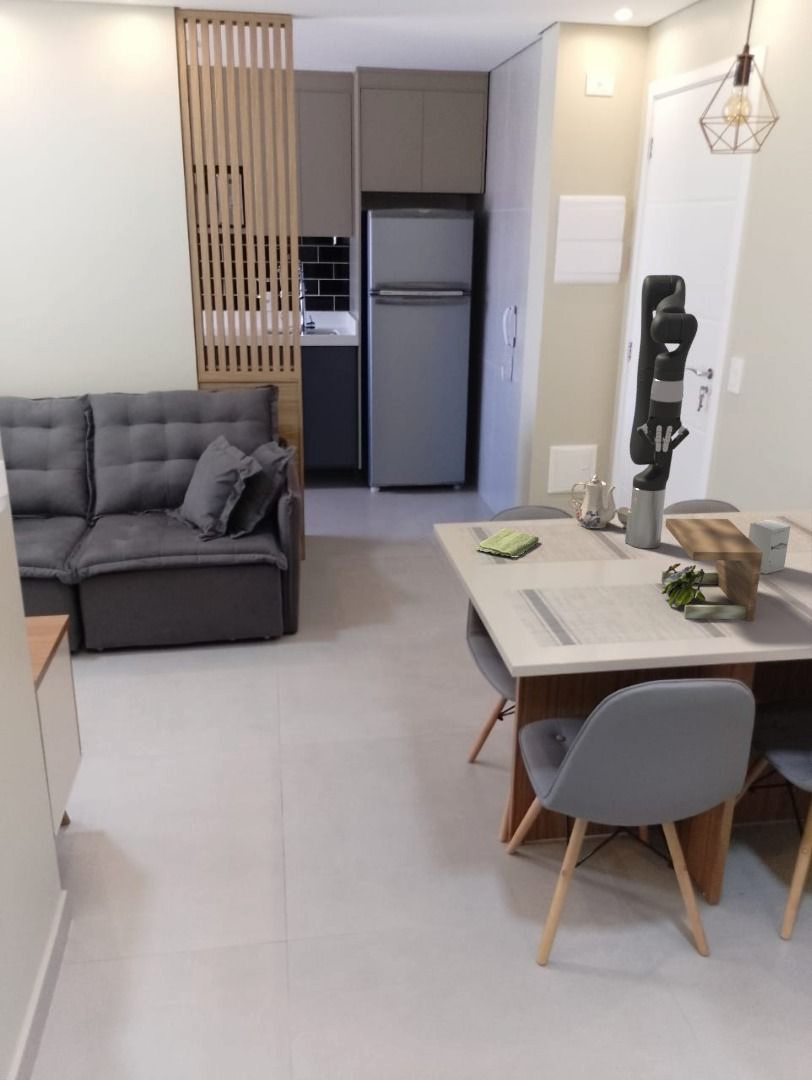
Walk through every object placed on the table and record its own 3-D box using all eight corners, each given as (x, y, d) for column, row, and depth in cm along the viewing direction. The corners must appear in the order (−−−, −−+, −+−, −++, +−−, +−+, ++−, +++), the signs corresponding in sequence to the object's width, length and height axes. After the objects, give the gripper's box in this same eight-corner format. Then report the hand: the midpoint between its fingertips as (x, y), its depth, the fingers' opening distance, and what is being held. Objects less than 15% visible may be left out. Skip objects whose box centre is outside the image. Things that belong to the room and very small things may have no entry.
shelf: (686, 620, 206) (693, 551, 201) (660, 580, 230) (666, 518, 224) (753, 620, 206) (762, 552, 200) (720, 581, 230) (728, 519, 224)
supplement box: (765, 575, 234) (771, 529, 230) (743, 566, 240) (749, 522, 236) (784, 570, 237) (791, 525, 233) (762, 561, 243) (768, 518, 239)
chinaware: (650, 531, 273) (658, 479, 269) (622, 539, 261) (630, 484, 257) (574, 513, 292) (580, 463, 288) (545, 519, 280) (551, 467, 276)
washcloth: (473, 552, 252) (473, 542, 251) (503, 536, 266) (503, 526, 265) (514, 561, 245) (514, 550, 244) (542, 544, 259) (543, 534, 258)
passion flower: (668, 616, 222) (675, 570, 225) (711, 619, 215) (718, 572, 218) (650, 603, 214) (658, 556, 217) (694, 606, 207) (702, 558, 210)
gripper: (692, 394, 217) (684, 461, 224) (637, 392, 219) (631, 459, 226) (697, 401, 210) (688, 470, 217) (640, 399, 212) (633, 468, 219)
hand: (659, 464), depth 221 cm, fingers closed
